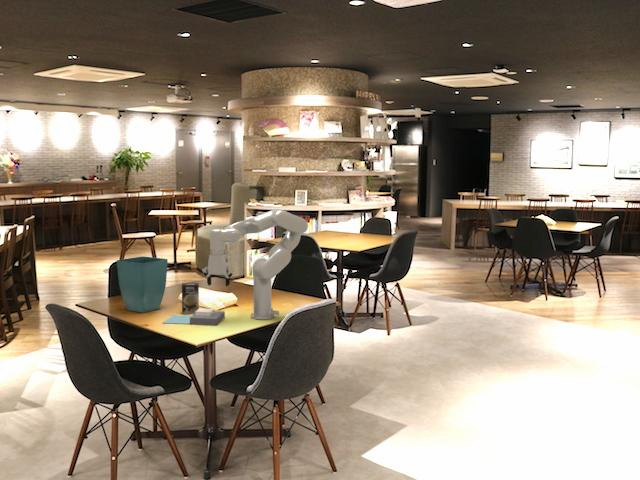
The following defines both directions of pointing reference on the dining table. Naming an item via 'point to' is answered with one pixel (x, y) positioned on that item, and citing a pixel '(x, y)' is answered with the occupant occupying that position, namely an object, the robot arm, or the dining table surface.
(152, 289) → the flower pot
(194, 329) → the dining table surface
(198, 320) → the board
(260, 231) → the robot arm
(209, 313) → the tile
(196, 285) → the coffee box
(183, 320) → the mat
